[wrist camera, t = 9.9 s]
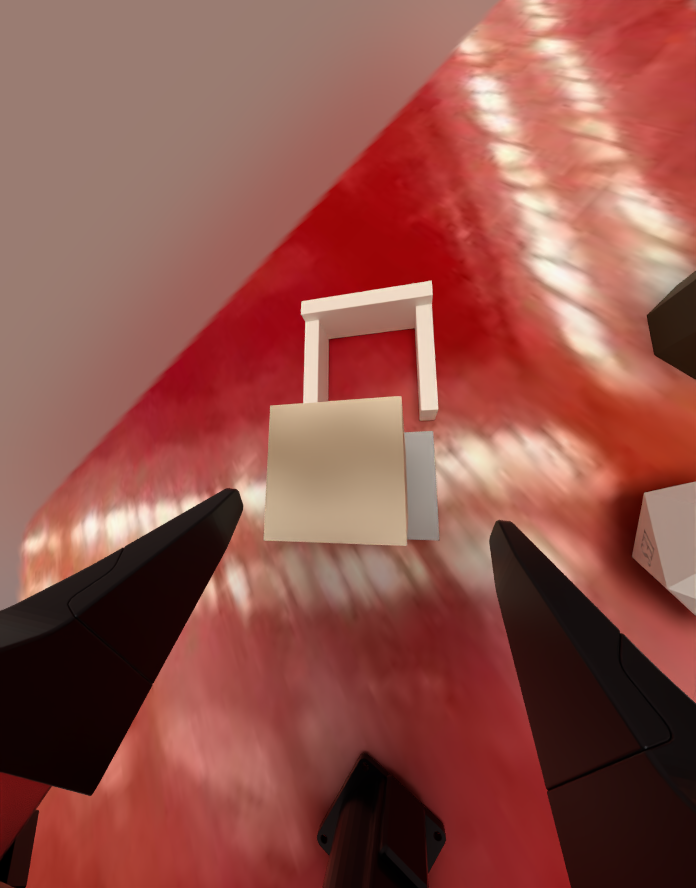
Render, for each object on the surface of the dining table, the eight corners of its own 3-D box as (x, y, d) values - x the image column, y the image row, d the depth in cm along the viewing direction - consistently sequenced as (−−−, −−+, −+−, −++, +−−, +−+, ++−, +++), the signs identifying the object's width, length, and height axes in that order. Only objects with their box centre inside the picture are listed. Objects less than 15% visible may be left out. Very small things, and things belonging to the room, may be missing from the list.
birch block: (408, 516, 22) (406, 546, 10) (340, 515, 23) (263, 540, 11) (405, 447, 23) (401, 395, 11) (340, 450, 24) (270, 405, 12)
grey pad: (439, 539, 21) (439, 540, 21) (315, 535, 23) (314, 536, 23) (432, 431, 23) (433, 431, 22) (317, 437, 25) (316, 436, 24)
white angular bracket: (434, 419, 23) (439, 405, 19) (315, 426, 25) (298, 414, 21) (428, 314, 24) (431, 280, 21) (317, 329, 27) (301, 301, 23)
